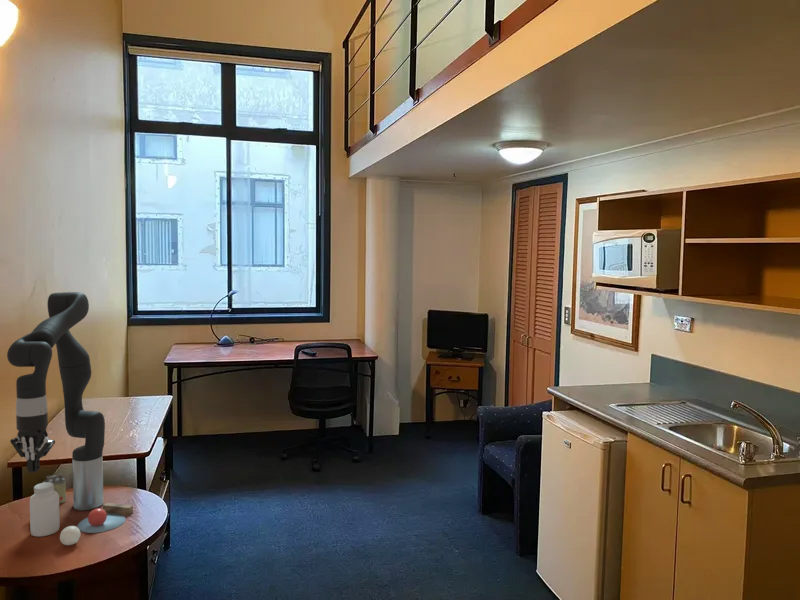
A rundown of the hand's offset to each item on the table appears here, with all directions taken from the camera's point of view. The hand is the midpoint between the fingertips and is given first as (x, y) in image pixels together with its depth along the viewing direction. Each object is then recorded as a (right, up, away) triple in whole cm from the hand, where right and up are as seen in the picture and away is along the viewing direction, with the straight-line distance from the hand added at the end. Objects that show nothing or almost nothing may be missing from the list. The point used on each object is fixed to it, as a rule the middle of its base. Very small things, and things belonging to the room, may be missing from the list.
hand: (33, 471), depth 169 cm
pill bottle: (-8, -24, +19) cm, 32 cm away
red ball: (+6, -21, +23) cm, 32 cm away
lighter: (-17, -23, +39) cm, 49 cm away
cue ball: (+4, -22, +11) cm, 25 cm away
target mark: (+7, -24, +25) cm, 35 cm away
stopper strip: (+8, -23, +33) cm, 41 cm away
